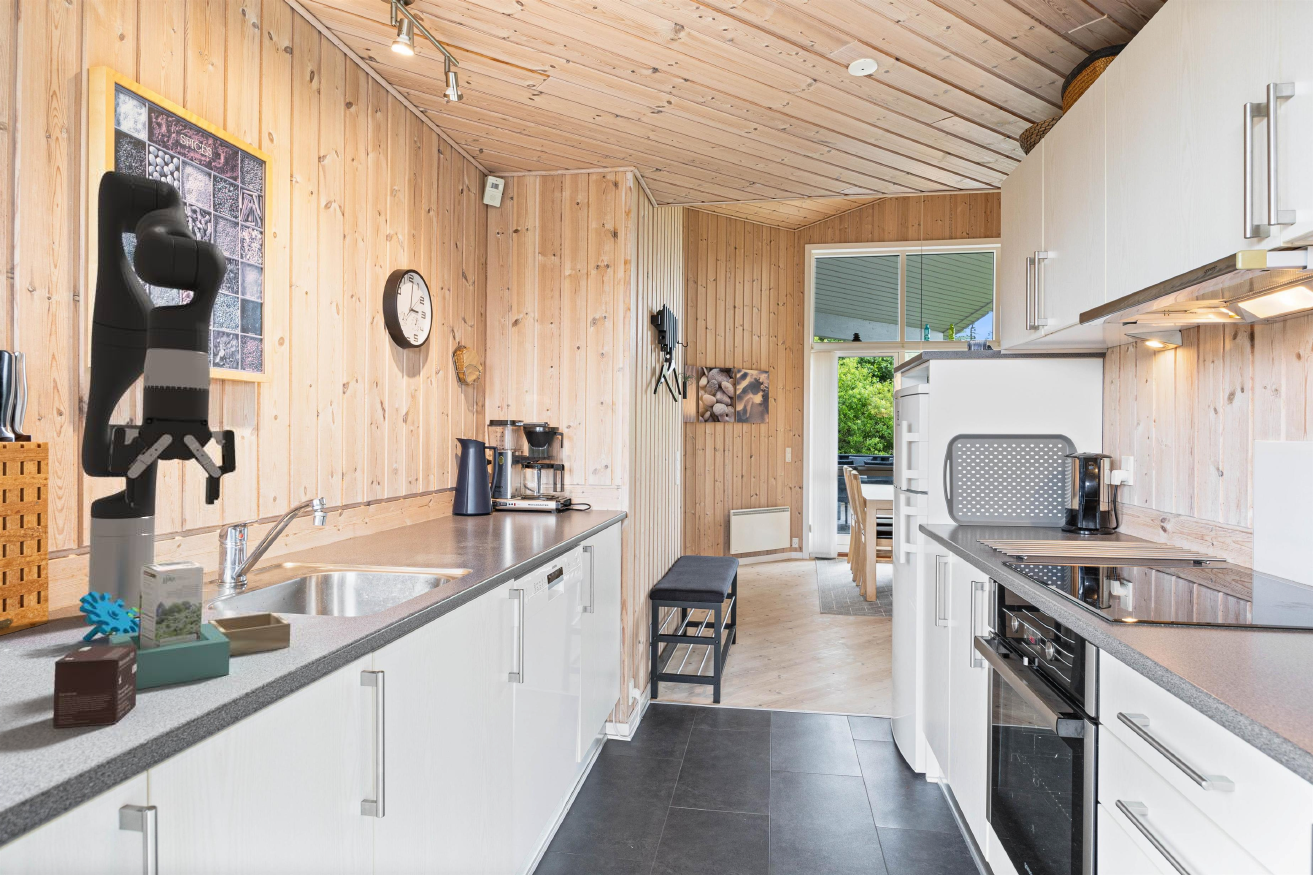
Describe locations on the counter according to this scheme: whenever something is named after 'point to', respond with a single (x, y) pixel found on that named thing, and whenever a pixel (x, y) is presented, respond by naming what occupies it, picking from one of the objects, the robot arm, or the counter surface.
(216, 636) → the teal square frame
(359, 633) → the counter surface
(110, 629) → the gear
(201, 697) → the counter surface
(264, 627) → the stand collar
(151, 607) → the syrup box
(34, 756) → the counter surface
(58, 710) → the box
